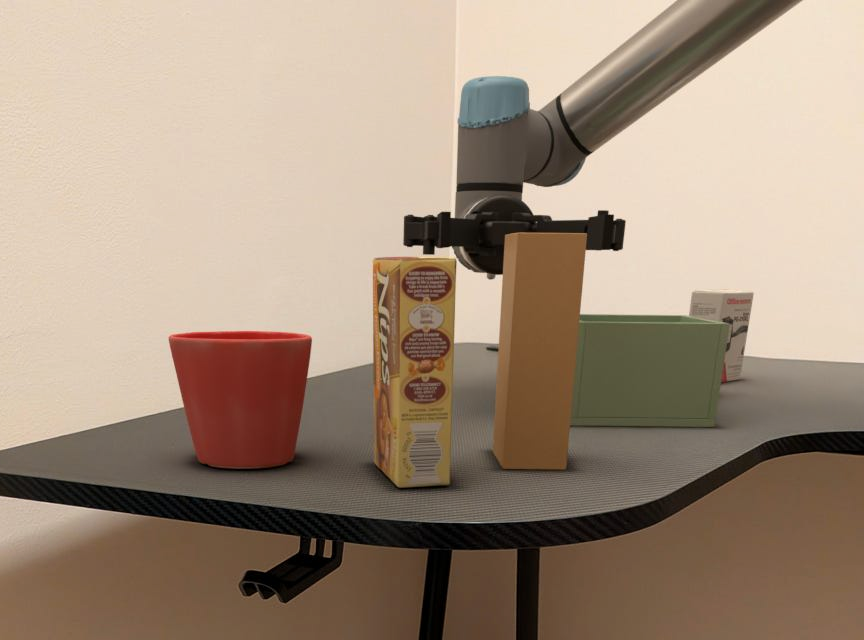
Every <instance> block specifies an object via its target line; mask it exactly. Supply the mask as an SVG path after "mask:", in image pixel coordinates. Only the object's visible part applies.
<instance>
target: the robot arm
mask: <svg viewBox="0 0 864 640" xmlns="http://www.w3.org/2000/svg"><path fill="white" fill-rule="evenodd" d="M803 1H804V0H675V1H674V2H673V3H672V4H671V5H669V6H668V7H667V8H665V9H664V10H663V11H662V12H661V13H659V14H658V15H656V16H655V17H654V18H653V19H652V20H651V21H649V22H648V23H647V24H645V25H644V26H643V27H641V29H639V30H638V31H637V32H636V33H634V34H633V35H632V36H630V37H629V38H628V39H627V40H625V41H624V42H623V43H622V44H620V45H619V46H618V47H617V48H615V49H614V50H613V51H612V52H610V53H609V54H608V55H606V56H605V57H604V58H603V59H601V61H599V62H598V63H596V64H595V65H594V66H593V67H592V68H590V69H589V70H588V71H587V72H585V73H584V74H583V75H581V76H580V77H579V78H578V79H577V80H575V81H574V82H573V83H572V84H570V85H569V86H568V87H567V88H566V89H564V90H563V91H562V92H561V93H560V94H558V95H557V96H556V97H555V98H554V99H552V100H551V101H549V102H548V103H547V104H546V105H544V106H543V107H541V108H540V109H539V110H535V109H533V108H531V103H530V88H529V87H530V86H529V85H528V83H527V81H526V80H524V79H523V78H519V77H514V76H506V75H505V76H503V75H493V76H492V75H491V76H490V75H489V76H480V77H474V78H472V79H470V80H468V81H466V82H465V83H464V84H463V86H462V88H461V93H460V102H459V112H458V118H457V153H456V155H457V157H456V187H455V188H456V189H455V190H456V191H455V198H454V199H455V201H454V217H452V211H441V212H439V213H437V214H436V216H435V215H434V214H427V215H424V216H416V215H414V214H407V215H404V216H403V239H402V241H403V242H402V244H403V246H404V247H407V248H413V247H414V246H415V247H422V255H427V256H428V255H429V256H435V255H436V253H435V252H436V248H437V249H446V248H452V249H453V254H454V255H455V257H456V259H457V260H458V262H459V263H460V264H461V265H462V266H463V267H464V268H466V269H467V270H469V271H472V272H473V273H475V274H476V273H477V274H478V273H479V274H486V278H487V279H488V280H491V281H492V280H494V279H496V276H501V275H502V276H503V263H504V245H505V235H508V234H513V233H587V241H586V251H612V252H619V251H622V250H624V243H625V242H624V240H625V234H626V233H625V231H626V222H627V220H626V219H623V218H616V219H615V214H610V211H609V210H603V209H599V210H598V209H597V215H594V216H588V218H587V219H561V220H559V219H558V220H557V219H556V220H555V219H554V220H553V218H552V216H551V215H547V214H534V213H533V211H532V209H531V208H530V206H528V205H527V203H525V202H524V201H523V192H524V191H523V190H524V184H528V185H529V184H530V185H534V186H536V187H541V188H542V187H543V188H552V187H558V186H563V185H565V184H567V183H569V182H571V181H572V180H573V179H574V178H576V177H577V176H578V175H579V173H580V171H581V170H582V169H583V166H584V164H585V163H586V160H587V157H589V156H591V155H592V154H593V153H595V152H596V151H597V150H599V149H600V148H601V147H602V146H604V145H606V144H607V143H608V142H610V141H611V140H612V139H614V138H615V137H616V136H617V135H619V134H621V133H622V132H623V131H625V130H626V129H627V128H629V127H630V126H632V125H633V124H634V123H636V122H637V121H638V120H640V119H641V118H643V117H644V116H645V115H647V114H649V113H650V112H651V111H653V110H654V109H655V108H656V107H658V106H659V105H661V104H662V103H663V102H665V101H666V100H668V99H669V98H670V97H671V96H673V95H674V94H676V93H677V92H678V91H680V90H681V89H683V88H684V87H685V86H687V85H689V84H690V83H691V82H692V81H694V80H695V79H696V78H698V77H700V75H702V74H703V73H705V72H706V71H708V70H709V69H710V68H711V67H713V66H714V65H716V64H717V63H718V62H720V61H721V60H723V59H724V58H726V57H727V56H728V55H730V54H731V53H732V52H734V51H735V50H737V49H738V48H739V47H741V46H742V45H744V44H745V43H746V42H748V41H749V40H751V39H752V38H753V37H755V36H756V35H757V34H759V33H760V32H761V31H763V30H764V29H765V28H767V27H769V26H770V25H771V24H772V23H773V22H775V21H776V20H778V19H779V18H781V17H782V16H783V15H785V14H786V13H788V12H789V11H791V10H792V9H794V7H796V6H797V5H799V4H800V3H801V2H803Z"/></svg>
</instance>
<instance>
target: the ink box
mask: <svg viewBox="0 0 864 640" xmlns="http://www.w3.org/2000/svg"><path fill="white" fill-rule="evenodd" d="M690 296H691V297H690V304H689V305H690V306H689V311H688V312H689V313H688V316H692V317H698V318H703V319H708V320H713V321H719V322H724V323H729V324H730V326H729V333H728V340H727V346H726V353H725V360H724V366H723V373H722V380H721V383H724V382H731V381H737V380H741V375H742V368H743V363H744V357H745V356H744V355H745V351H746V350H745V349H746V344H747V339H748V331H749V325H750V318H751V314H752V313H751V312H752V307H753V301H754V292H753V291H750V290H749V291H748V290H738V289H728V288H727V289H725V288H713V289H711V288H710V289H709V288H708V289H695V290H694V291H692V292H691V295H690Z"/></svg>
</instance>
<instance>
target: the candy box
mask: <svg viewBox="0 0 864 640" xmlns="http://www.w3.org/2000/svg"><path fill="white" fill-rule="evenodd" d="M457 263H458V262H457V258H455V257H444V256H443V257H441V256H383V257H374V258H373V259H372V329H373V330H372V331H373V332H372V333H373V334H372V346H373V347H372V348H373V349H372V350H373V351H372V354H373V355H372V359H373V360H372V363H373V364H372V366H373V367H372V368H373V369H372V370H373V371H372V372H373V375H372V376H373V379H372V380H373V381H372V382H373V385H372V386H373V463H374V464H375V465H376V467H377V468H378V469H379V470H381V472H383V474H384V475H385V476H386V477H387V478H389V479H390V481H391V482H392V483H393V484H394V485H395V486H396V487H397V488H399V489H401V488H402V489H403V488H419V487H437V486H438V487H439V486H441V487H443V486H444V487H445V486H449V485H450V484H451V461H452V460H451V459H452V457H451V456H452V426H453V424H452V422H453V394H454V393H453V392H454V387H453V386H454V363H455V362H454V360H455V359H454V358H455V357H454V356H455V326H456V325H455V324H456V323H455V322H456V292H457V291H456V289H457V286H456V285H457Z"/></svg>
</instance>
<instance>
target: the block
mask: <svg viewBox="0 0 864 640" xmlns="http://www.w3.org/2000/svg"><path fill="white" fill-rule="evenodd" d="M586 241H587V233H513V234H508V235H505V245H504V263H503V275H502V280H501V281H502V282H501V298H500V299H501V300H500V319H499V333H498V334H499V335H498V351H497V371H496V372H497V373H496V385H495V386H496V387H495V405H494V419H493V421H494V423H493V437H492V438H493V440H492V442H493V443H492V453H493V454H494V456H495V458H496V460H497V462H498V463H499V464H500V467H501V468H502V469H503V470H543V471H545V470H547V471H548V470H550V471H551V470H552V471H553V470H554V471H555V470H556V471H560V470H561V471H564V470H565V471H566V470H567V464H568V452H569V441H570V432H571V431H570V430H571V429H570V428H571V426H570V420H571V409H572V398H573V387H574V375H575V364H576V353H577V342H578V331H579V319H580V314H581V307H582V298H583V297H582V296H583V285H584V273H585V261H586V251H587V250H586Z"/></svg>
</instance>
